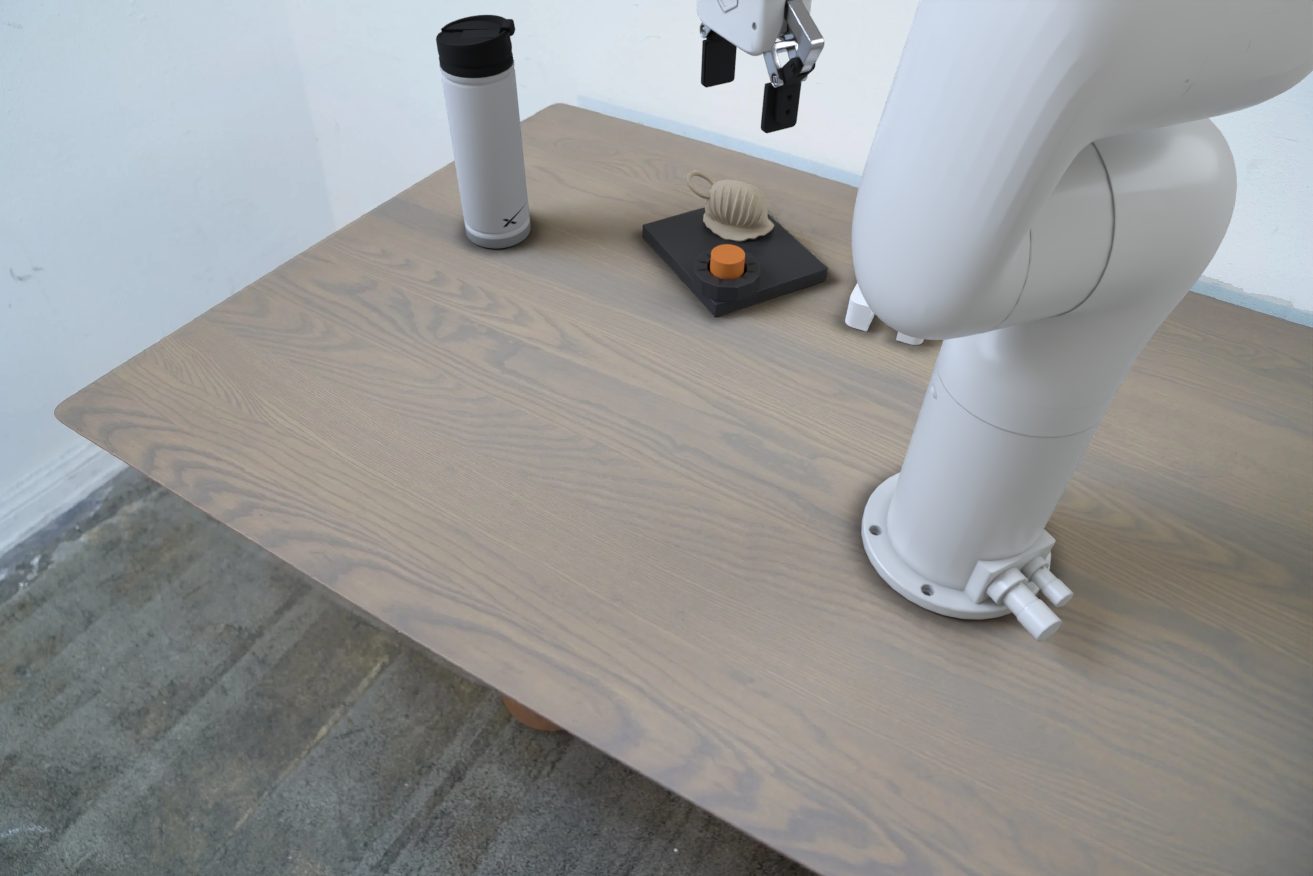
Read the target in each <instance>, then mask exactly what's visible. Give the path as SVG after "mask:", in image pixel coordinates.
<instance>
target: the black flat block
mask: <svg viewBox="0 0 1313 876" xmlns="http://www.w3.org/2000/svg"><path fill="white" fill-rule="evenodd" d="M704 214H705V206H704V207H700V208H697V209H694V210H693V209H692V210H689V211H686V212H682V213H679V214H676V215H672V216H668V217H665V218H662V219H657V220H654V221H651V222H647V223H644V224H642V229H641V230H642V234H641V235H642V238H643V239H644V240H645V241H646V242H647V244H648V245H649V246H650V248H652V249H653V250H654V252H655V253H656V254H657V255H658V256H659V257H660V258H661V259H662V260H663V261H664V263H665V264H666V265H667V266H668V267H669V268H670V269H671V270H672V271H673V272H674V274H675V275H676V276H677V277H678V278H679V279H680V280H681V281H682V283H683V284H685V286H686V287H687V288H688V289H689V290H690V291H691V292H692V293H693V295H695V297H696V298H697V299H698V300H699V301H700V302H701V303H702V305H703V306H704V307H705V308H706V309H707V310H708V311H709V312H710V313H711V315H713V317H714V318H717V317H719V316H722V315H726V314H728V313H731V312H735V311H738V310H741V309H744V308H747V307H749V306H753V305H756V304H759V303H762V302H765V301H768V300H771V299H774V298H777V297H781V296H783V295H786V294H789V293H793V292H796V291H799V290H801V289H804V288H808V287H810V286H813V285H818V284H820V283H823V282H826V281H827V277H828V271H829V267H827V266H826V265H825V264H824V262H822V261H821V260H820V259H819V258H818V257H817V256H816V255H814V254H813V252H811V251H810V250H809V249H808V248H806V247H805V246H804V245H803V244H802V243H801V242H800V241H799V240H798V239H796V238H795V236H793V235H792V234H791V233H790V232H789V231H788V230H787V229H786V228H785V227H784V226H782V225H781V224H780V223H779V222H778V221H777V220H776V219H774V218H773V216H771V215H770V214H769V213H768V215H767V217H768V219H769V220H770V221H771V222H772V223H773V224H774V227H773V229H772V230H771V231H770V232H768V233H767V234H766V235H764V236H758V237H757V238H755V239H747V240H745V241H741V242H737V241H732V240H725V239H723V238H721V237H720V236H718V235H716V234H714V233H713V232H712V230H711V229H709V228H707V227H706V224H705V223H704V222H703V217H704ZM723 244H730V245H735V246H738V247H740V248H741V249H742V250H743V251H744V252H745V263H744V272H743V274H742V276H741V277H739V278H736V279H721V278H718V277H716V276H713V275H712V274H711V272H710V261H711V251H712V250H713V249H714V248H715V247H717V246H719V245H723Z"/></svg>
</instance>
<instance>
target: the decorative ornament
mask: <svg viewBox="0 0 1313 876" xmlns="http://www.w3.org/2000/svg"><path fill="white" fill-rule="evenodd" d="M693 177H700V178H702V179H704V180H705V181H706V182H708V183H709V184H710V186H711V187H710V189H709V191H708V192H706V191H703V190H702V189H700V188H698V187H697V186H696V185H695V184H694V183H693V180H692V178H693ZM685 182H686V185H687V187H688V188H689V190H690V191H691V192H692V193H693V194H694V195H697V197H699V198H702V199H704V200H706V202H705V204H704V207H705V214H704V217H703V222H704V223H705V224H706V227H707V228H709V229H711V230H712V232H713V233H714V234H716V235H718V236H720V237H721V238H723V239H725V240H732V241H737V242H741V241H745V240H747V239H755V238H757V237H758V236H764V235H766V234H767V233H768V232H770V231H771V230H772V229H773V227H774V224H773V223H772V222H771V221H770V220H769V219H768V217H767V215H768V214H769V207H770V206H769V201H768V199H767V197H766V195H765V194H764V192H763V191H762V190H761V189H760V188H758V187H757V186H756V185H753V184H751V183H749V182H745V181H741V180H737V179H731V178H730V179H726V178H725V179H721V180H716V179H715V178H714V176H712V175H711V174H709V173H707V172H705V171H703V170H700V169H699V170H698V169H693V170H690V171H689V172H688V173H687V174H686V176H685Z"/></svg>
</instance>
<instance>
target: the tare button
mask: <svg viewBox="0 0 1313 876" xmlns="http://www.w3.org/2000/svg"><path fill="white" fill-rule="evenodd" d="M744 263H745V252H744V251H743V250H742V249H741V248H740V247H738V246H735V245H730V244H723V245H719V246H717V247H715V248H714V249H713V250H712V251H711V261H710V272H711V274H712V275H713V276H716V277H718V278H721V279H736V278H739V277H741V276H742V274H743V272H744Z"/></svg>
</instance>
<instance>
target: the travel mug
mask: <svg viewBox="0 0 1313 876" xmlns="http://www.w3.org/2000/svg"><path fill="white" fill-rule="evenodd" d="M515 33H516V25H515V21H514V19H512V18H506V17H503V16H500V15H496V14H477V15H471V16H465V17H462V18H461V17H460V18H458V19H455V20H453V21H450V22H449V23H447V24H445V25H444V26H442V27H441V28H440V32H438V33H437V35H436V36H435V42H436V49H437V53H438V61H439V66H438V67H439V71H440V78H441V85H442V91H443V97H444V103H445V110H446V115H447V116H446V117H447V122H448V128H449V134H450V140H451V147H452V153H453V160H454V166H455V172H456V178H457V184H458V185H457V186H458V190H459V197H460V202H461V209H462V215H463V221H464V227H465V233H466V237H467V238H468V240H470V241H471V242H472V243H473V244H475V245H477V246H478V247H481V248H485V249H486V248H487V249H505V248H510V247H513V246H515V245H518V244H520V243H522V242H523V241H524V240H525V239H527V237H528V236H529V235H530V232H531V217H530V208H529V207H530V206H529V198H528V187H527V177H526V167H525V157H524V146H523V137H522V126H521V118H520V117H521V115H520V105H519V97H518V86H517V77H516V76H517V75H516V69H515V59H514V54H513V44H512V40H511V39H512V38H511V37H512V36H514V35H515Z"/></svg>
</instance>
